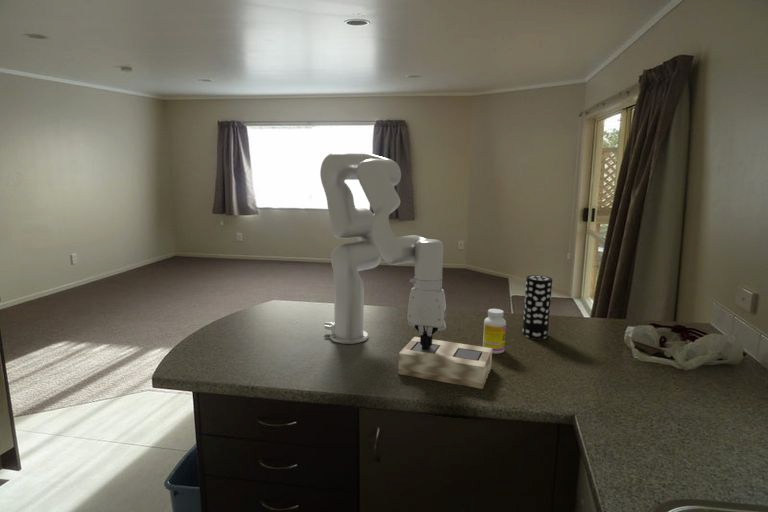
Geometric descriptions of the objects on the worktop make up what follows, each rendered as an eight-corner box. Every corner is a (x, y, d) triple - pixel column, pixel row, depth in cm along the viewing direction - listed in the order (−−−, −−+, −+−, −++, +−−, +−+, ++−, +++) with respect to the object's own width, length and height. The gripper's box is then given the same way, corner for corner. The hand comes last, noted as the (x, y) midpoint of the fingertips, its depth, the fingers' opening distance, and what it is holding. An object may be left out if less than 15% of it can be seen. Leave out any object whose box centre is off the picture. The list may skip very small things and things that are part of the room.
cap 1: (411, 363, 133) (412, 349, 133) (418, 355, 139) (418, 342, 138) (432, 366, 131) (433, 353, 131) (438, 358, 137) (438, 345, 136)
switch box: (398, 373, 131) (398, 353, 130) (414, 355, 144) (414, 336, 143) (482, 388, 123) (483, 367, 122) (491, 368, 136) (492, 348, 135)
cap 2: (453, 370, 129) (454, 356, 128) (458, 362, 135) (459, 348, 134) (476, 374, 127) (476, 360, 126) (480, 365, 133) (480, 352, 132)
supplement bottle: (504, 355, 145) (507, 314, 143) (482, 353, 147) (484, 313, 144) (503, 347, 152) (506, 308, 149) (482, 345, 153) (484, 307, 151)
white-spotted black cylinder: (552, 336, 162) (557, 279, 159) (536, 341, 158) (541, 282, 154) (532, 329, 169) (537, 274, 166) (517, 333, 165) (521, 277, 161)
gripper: (397, 284, 130) (396, 348, 134) (451, 290, 125) (448, 356, 128) (406, 278, 137) (405, 339, 140) (457, 284, 132) (455, 347, 135)
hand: (426, 347), depth 134 cm, fingers closed
